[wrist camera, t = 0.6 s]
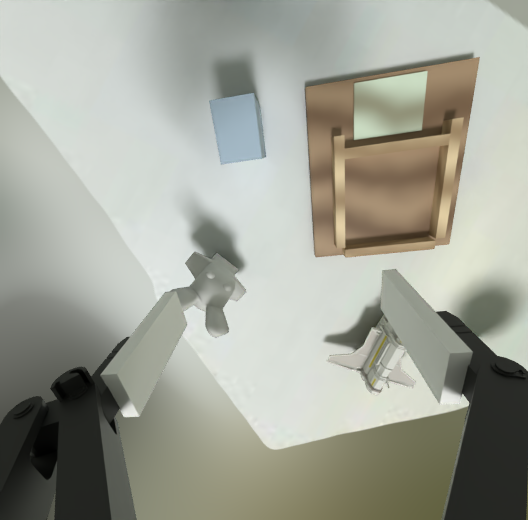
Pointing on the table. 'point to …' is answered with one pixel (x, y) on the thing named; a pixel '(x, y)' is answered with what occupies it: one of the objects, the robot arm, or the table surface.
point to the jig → (388, 158)
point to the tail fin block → (238, 128)
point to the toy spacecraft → (377, 359)
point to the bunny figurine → (211, 290)
